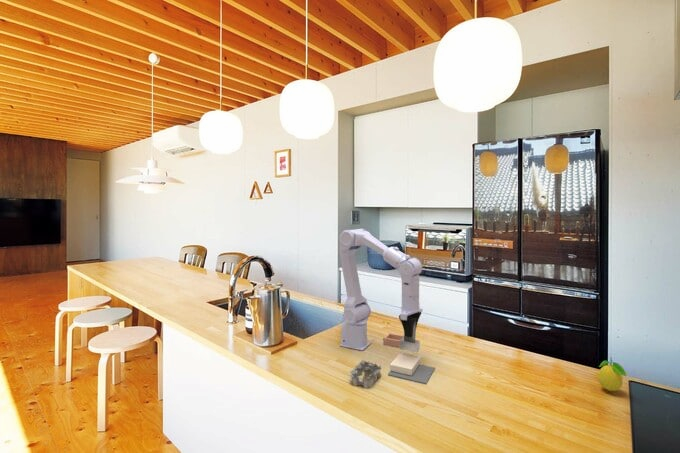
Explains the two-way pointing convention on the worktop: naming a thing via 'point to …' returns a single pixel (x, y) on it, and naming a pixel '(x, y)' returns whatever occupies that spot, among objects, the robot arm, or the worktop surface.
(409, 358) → the glazed tile
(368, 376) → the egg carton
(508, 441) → the worktop surface
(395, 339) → the pusher holder
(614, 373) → the lemon
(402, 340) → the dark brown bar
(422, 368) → the mat
